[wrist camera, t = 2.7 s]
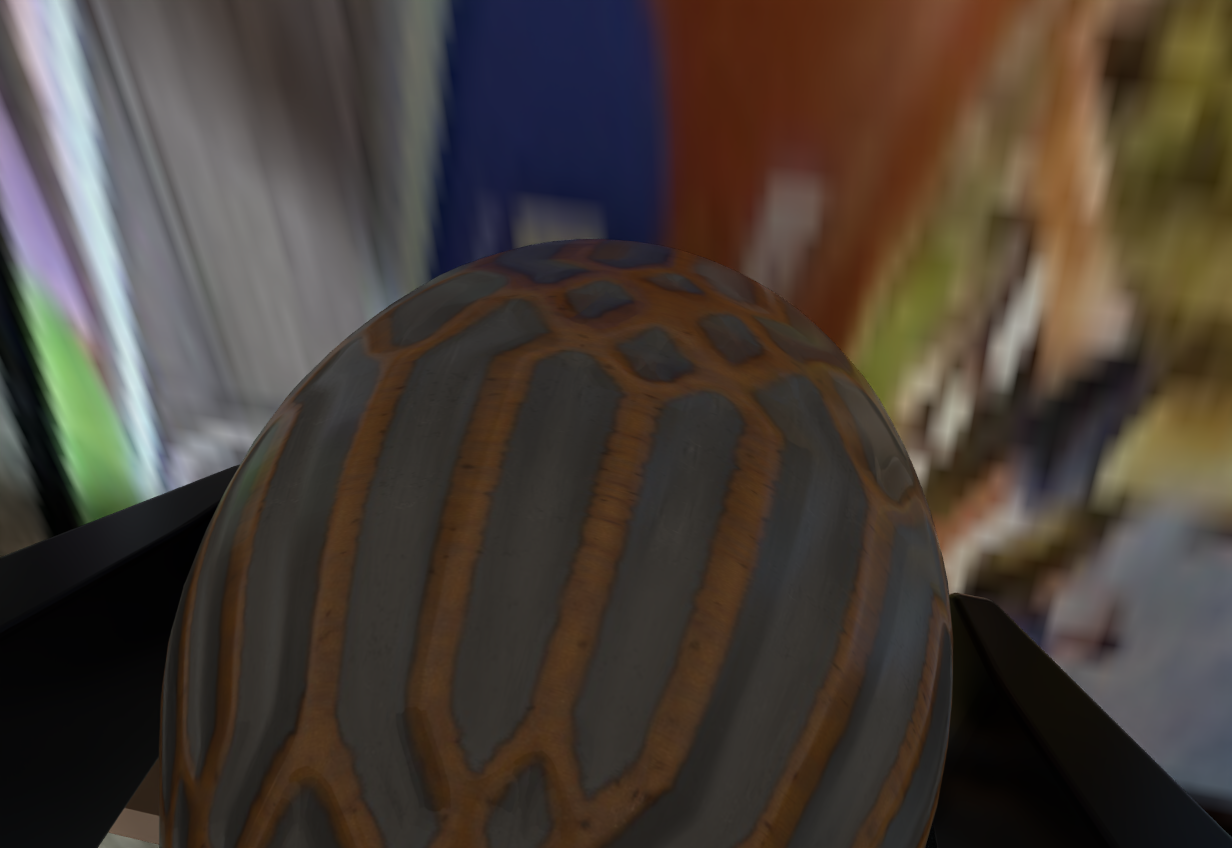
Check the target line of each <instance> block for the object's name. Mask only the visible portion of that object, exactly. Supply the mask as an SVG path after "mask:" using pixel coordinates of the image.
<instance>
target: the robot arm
mask: <svg viewBox="0 0 1232 848" xmlns="http://www.w3.org/2000/svg"><path fill="white" fill-rule="evenodd" d="M239 466H240V465H236V466H233V467H231V468H228V469H226V470H223V471H221V472H218V473H216V474H213V475H210V476H208V477H205V478H203V479H200V480H198V481H195V482H193V483H190V484H187V485H185V486H182V487H180V488H177V489H175V490H172V491H169V492H167V493H164V494H162V495H159V496H157V497H154V498H152V499H149V500H146V501H144V502H141V503H139V504H136V505H134V506H131V507H128V508H126V509H123V510H121V511H118V512H116V513H113V514H111V515H108V516H105V517H103V518H100V519H98V520H95V521H93V522H90V523H87V524H85V525H82V526H80V527H77V528H75V529H72V530H70V531H67V532H64V533H62V534H59V535H57V536H54V537H52V538H49V539H46V540H44V541H41V542H39V543H36V544H34V545H31V546H29V547H26V548H23V549H21V550H18V551H16V552H13V553H11V554H8V555H5V556H3V557H0V848H98V847H99V845H100V844H101V842H102V841H103V839H104V838H105V836H106V835H107V833H108V832H109V830H110V829H111V828H112V826H113V825H114V823H115V822H116V820H117V819H118V817H119V816H120V814H121V813H122V811H123V810H124V808H125V807H126V805H127V804H128V802H129V801H130V799H131V798H132V796H133V795H134V793H135V792H136V791H137V789H138V788H139V786H140V785H141V783H142V782H143V780H144V779H145V777H146V776H147V774H148V773H149V771H150V770H151V768H152V767H153V765H154V764H155V762H156V761H157V759H158V758H159V731H160V704H161V693H162V684H163V677H164V670H165V663H166V656H167V649H168V642H169V638H170V634H171V631H172V627H173V623H174V619H175V616H176V612H177V609H178V605H179V602H180V598H181V594H182V591H183V587H184V584H185V582H186V579H187V577H188V574H189V572H190V569H191V567H192V564H193V561H194V559H195V556H196V554H197V551H198V549H199V546H200V544H201V541H202V539H203V537H204V534H205V532H206V529H207V527H208V525H209V523H210V521H211V519H212V517H213V515H214V513H215V511H216V509H217V507H218V505H219V503H220V501H221V498H222V496H223V494H224V492H225V490H226V489H227V487H228V485H229V483H230V482H231V480H232V478H233V476H234V475H235V473H236V471H237V469H238V468H239ZM949 600H950V611H951V621H952V632H953V685H952V708H951V718H950V728H949V738H948V747H947V753H946V760H945V766H944V771H943V777H942V782H941V788H940V793H939V799H938V804H937V809H936V812H935V816H934V819H933V826H934V832H935V838H936V843H937V848H1232V837H1231V836H1230V835H1229V834H1228V833H1227V832H1226V831H1225V830H1224V829H1223V828H1222V827H1221V826H1220V825H1219V824H1218V823H1217V822H1216V821H1215V820H1214V819H1213V818H1212V817H1211V816H1209V815H1208V814H1207V813H1206V812H1205V811H1204V810H1203V809H1202V808H1201V807H1200V806H1199V805H1198V804H1197V803H1196V802H1195V801H1194V800H1193V799H1192V798H1191V797H1190V796H1189V795H1188V794H1187V793H1186V792H1185V791H1184V790H1183V789H1182V788H1181V787H1180V786H1179V785H1178V784H1177V783H1176V782H1175V781H1174V780H1173V779H1172V778H1171V777H1170V776H1169V775H1168V774H1167V773H1166V772H1165V771H1164V770H1163V769H1162V768H1161V767H1160V766H1159V765H1158V764H1157V763H1156V762H1155V761H1154V760H1153V759H1152V758H1151V757H1150V756H1149V755H1148V754H1147V753H1146V752H1145V751H1144V750H1143V749H1142V748H1141V747H1140V746H1139V745H1138V744H1137V743H1136V742H1135V741H1134V740H1133V739H1132V738H1131V737H1130V736H1129V735H1128V734H1127V733H1126V732H1125V731H1124V730H1123V729H1122V728H1121V727H1120V726H1119V725H1118V724H1117V723H1116V722H1115V721H1114V720H1113V719H1112V718H1111V717H1110V716H1109V715H1108V714H1107V713H1106V712H1105V711H1104V710H1103V709H1102V708H1101V707H1100V706H1099V705H1098V704H1097V703H1096V702H1095V701H1094V700H1093V699H1092V698H1091V697H1090V696H1089V695H1088V694H1087V693H1086V692H1085V691H1083V690H1082V689H1081V688H1080V687H1079V686H1078V685H1077V684H1076V683H1075V682H1074V681H1073V680H1072V679H1071V678H1070V677H1069V676H1068V675H1067V674H1066V673H1065V672H1064V671H1063V670H1062V669H1061V668H1060V667H1059V666H1058V665H1057V664H1056V663H1055V662H1054V661H1053V660H1052V659H1051V658H1050V657H1049V656H1048V655H1047V654H1046V653H1045V652H1044V651H1043V650H1042V649H1041V648H1040V647H1039V646H1038V645H1037V644H1036V643H1035V642H1034V641H1033V640H1032V639H1031V638H1030V637H1029V636H1028V635H1027V634H1026V633H1025V632H1024V631H1023V630H1022V629H1021V628H1020V627H1019V626H1018V625H1017V624H1016V623H1015V622H1014V621H1013V620H1012V619H1011V618H1010V617H1009V616H1008V615H1007V614H1006V613H1005V612H1004V611H1003V610H1002V609H1001V608H1000V607H999V606H998V605H997V604H995V603H994V602H993V601H991V600H989V599H986V598H982V597H976V596H971V595H965V594H960V593H953V594H950V595H949Z"/></svg>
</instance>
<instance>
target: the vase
mask: <svg viewBox="0 0 1232 848" xmlns="http://www.w3.org/2000/svg"><path fill="white" fill-rule="evenodd" d="M952 685H953V632H952V621H951V611H950V600H949V590H948V581H947V576H946V571H945V566H944V562H943V557H942V553H941V549H940V545H939V541H938V537H937V534H936V530H935V526H934V522H933V519H932V516H931V513H930V510H929V507H928V504H927V501H926V498H925V495H924V493H923V490H922V487H921V485H920V482H919V480H918V477H917V474H916V472H915V469H914V467H913V464H912V462H911V460H910V458H909V455H908V453H907V451H906V449H905V446H904V444H903V442H902V440H901V438H900V437H899V435H898V433H897V431H896V429H895V427H894V425H893V423H892V421H891V419H890V417H889V416H888V414H887V412H886V410H885V408H884V407H883V405H882V403H881V401H880V400H879V398H878V396H877V395H876V394H875V392H874V391H873V389H872V388H871V386H870V385H869V383H868V382H867V381H866V379H865V378H864V376H863V375H862V374H861V373H860V372H859V370H858V369H857V368H856V367H855V366H854V364H853V363H852V362H851V361H850V360H849V359H848V357H847V356H846V355H845V354H844V353H843V352H842V351H841V350H840V349H839V348H838V347H837V345H836V344H835V343H834V342H833V341H832V340H831V339H830V338H829V337H828V336H827V335H826V334H825V333H824V332H823V331H822V330H821V329H820V328H819V327H818V326H817V325H816V324H815V323H813V322H812V321H811V320H810V319H809V318H807V317H806V316H805V315H804V314H803V313H802V312H800V311H799V310H798V309H797V308H795V307H794V306H793V305H791V304H790V303H788V302H787V301H786V300H784V299H783V298H781V297H780V296H779V295H777V294H776V293H774V292H772V291H771V290H769V289H767V288H766V287H764V286H762V285H761V284H759V283H757V282H756V281H754V280H752V279H750V278H748V277H746V276H744V275H742V274H740V273H738V272H736V271H734V270H732V269H730V268H728V267H726V266H724V265H721V264H719V263H716V262H714V261H711V260H709V259H706V258H704V257H701V256H698V255H694V254H691V253H688V252H685V251H682V250H678V249H673V248H669V247H665V246H661V245H655V244H649V243H642V242H635V241H622V240H609V239H576V240H564V241H553V242H546V243H540V244H534V245H529V246H525V247H521V248H517V249H513V250H509V251H505V252H502V253H498V254H495V255H491V256H488V257H485V258H482V259H479V260H476V261H473V262H470V263H467V264H464V265H462V266H460V267H457V268H455V269H453V270H451V271H448V272H446V273H444V274H442V275H440V276H438V277H436V278H434V279H433V280H431V281H429V282H427V283H426V284H424V285H422V286H420V287H419V288H417V289H415V290H414V291H412V292H410V293H409V294H407V295H406V296H404V297H402V298H401V299H399V300H397V301H396V302H394V303H393V304H391V305H390V306H388V307H387V308H386V309H384V310H383V311H381V312H380V313H379V314H377V315H376V316H374V317H373V318H372V319H370V320H369V321H368V322H367V323H365V324H364V325H363V326H361V327H360V328H359V329H358V330H356V331H355V332H354V333H352V334H351V335H350V336H349V337H347V338H346V339H345V340H344V341H343V342H342V343H340V344H339V345H338V346H337V347H336V348H335V349H334V350H332V351H331V352H330V353H329V354H328V355H327V356H326V357H325V358H324V359H323V360H322V361H321V362H320V363H319V364H318V365H317V366H316V367H315V368H314V369H313V370H312V371H311V372H310V373H309V374H308V375H306V376H305V378H304V379H303V380H302V381H301V382H300V383H299V384H298V385H297V386H296V387H295V388H294V389H293V390H292V392H291V393H290V394H289V395H288V396H287V398H286V399H285V400H284V402H283V403H282V404H281V406H280V407H279V408H278V410H277V411H276V412H275V414H274V415H273V416H272V418H271V419H270V420H269V422H268V423H267V424H266V426H265V427H264V428H263V430H262V431H261V432H260V434H259V435H258V437H257V438H256V439H255V441H254V442H253V444H252V446H251V447H250V449H249V451H248V453H247V454H246V456H245V458H244V459H243V461H242V463H241V464H240V466H239V468H238V469H237V471H236V473H235V475H234V476H233V478H232V480H231V482H230V483H229V485H228V487H227V489H226V490H225V492H224V494H223V496H222V498H221V501H220V503H219V505H218V507H217V509H216V511H215V513H214V515H213V517H212V519H211V521H210V523H209V525H208V527H207V529H206V532H205V534H204V537H203V539H202V541H201V544H200V546H199V549H198V551H197V554H196V556H195V559H194V561H193V564H192V567H191V569H190V572H189V574H188V577H187V579H186V582H185V584H184V587H183V591H182V594H181V598H180V602H179V605H178V609H177V612H176V616H175V619H174V623H173V627H172V631H171V634H170V638H169V642H168V649H167V656H166V663H165V670H164V677H163V684H162V693H161V704H160V731H159V848H925V846H926V843H927V840H928V836H929V833H930V829H931V826H932V822H933V819H934V816H935V812H936V809H937V804H938V799H939V793H940V788H941V782H942V777H943V771H944V766H945V760H946V753H947V747H948V738H949V728H950V718H951V708H952Z"/></svg>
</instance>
